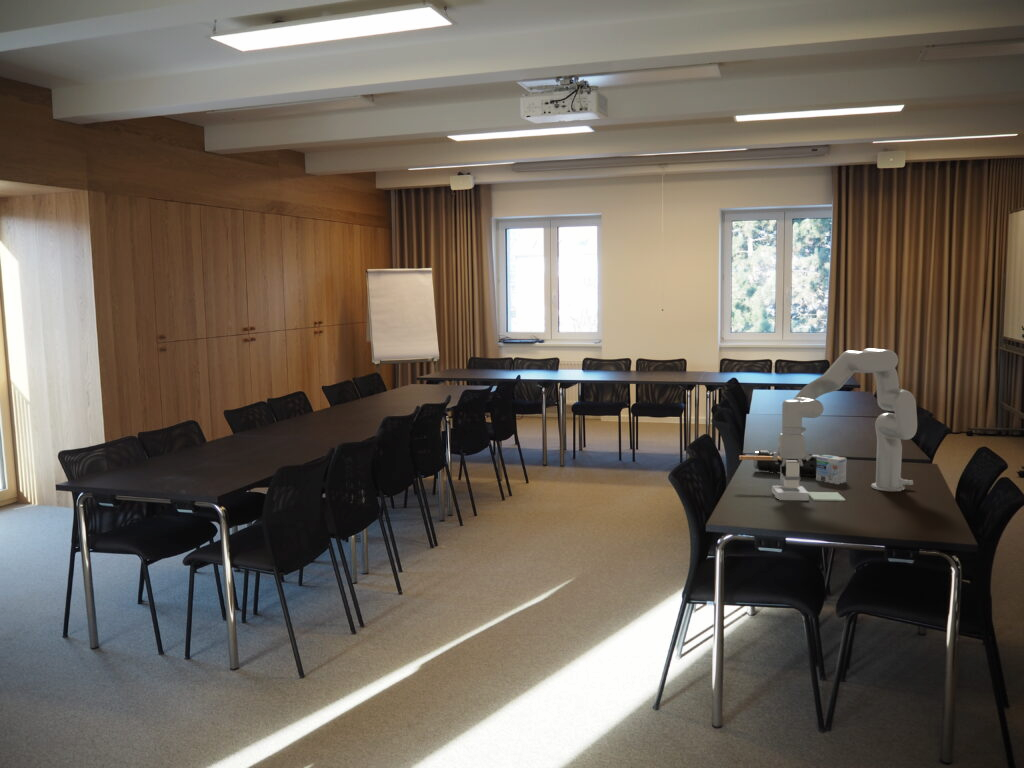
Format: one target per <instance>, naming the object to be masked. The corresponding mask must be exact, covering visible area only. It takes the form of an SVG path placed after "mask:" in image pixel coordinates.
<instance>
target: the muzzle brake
mask: <svg viewBox="0 0 1024 768" xmlns="http://www.w3.org/2000/svg"><path fill="white" fill-rule="evenodd" d="M776 452H777V451H773V452H772V451H770V450H768V449H767V450H766V449H760V450H756V451H754V453H753V456H774V454H775V453H776ZM808 454H809V455H810V456H811V458H810V459H809V460H808V461H807V462H806V463H805V464H803V466H802V474H801V476H803V475H804V476H803V477H805V476H806V477H814V476H816V465H817V456H821V455H820V454H817V453H813V454H811V453H808ZM805 457H806V455H805ZM803 459H804V458H803ZM803 459H802V460H803ZM788 460H797V459H788ZM797 461H798V460H797ZM753 468H754V469H755V470H758V471H760V472H768V473H769V472H773V473H772V474H774V473H777V474H778V473H780V470H781V464H780V463H778V462H777V461H776V460H753Z"/></svg>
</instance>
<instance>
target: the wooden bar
mask: <svg viewBox="0 0 1024 768" xmlns="http://www.w3.org/2000/svg"><path fill="white" fill-rule="evenodd" d="M738 458H739V459H738V460H739V461H741V460H742V461H754V460H775V459H774V458H773V456H754V455H739V456H738ZM778 458H779V459H780V460H781V459H782V458H780V457H779V456H778ZM786 460H788V459H786Z"/></svg>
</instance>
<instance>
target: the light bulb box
mask: <svg viewBox="0 0 1024 768" xmlns="http://www.w3.org/2000/svg"><path fill="white" fill-rule="evenodd" d="M815 481H817V482H823V481H824V482H823V483H828V482H829V483H828V484H833V483H834V484H833V485H841V484H844V483H846V481H847V457H842V456H837V455H830V454H822V455H821V456H817V465H816V477H815ZM843 482H844V483H843ZM840 483H841V484H840Z"/></svg>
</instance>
